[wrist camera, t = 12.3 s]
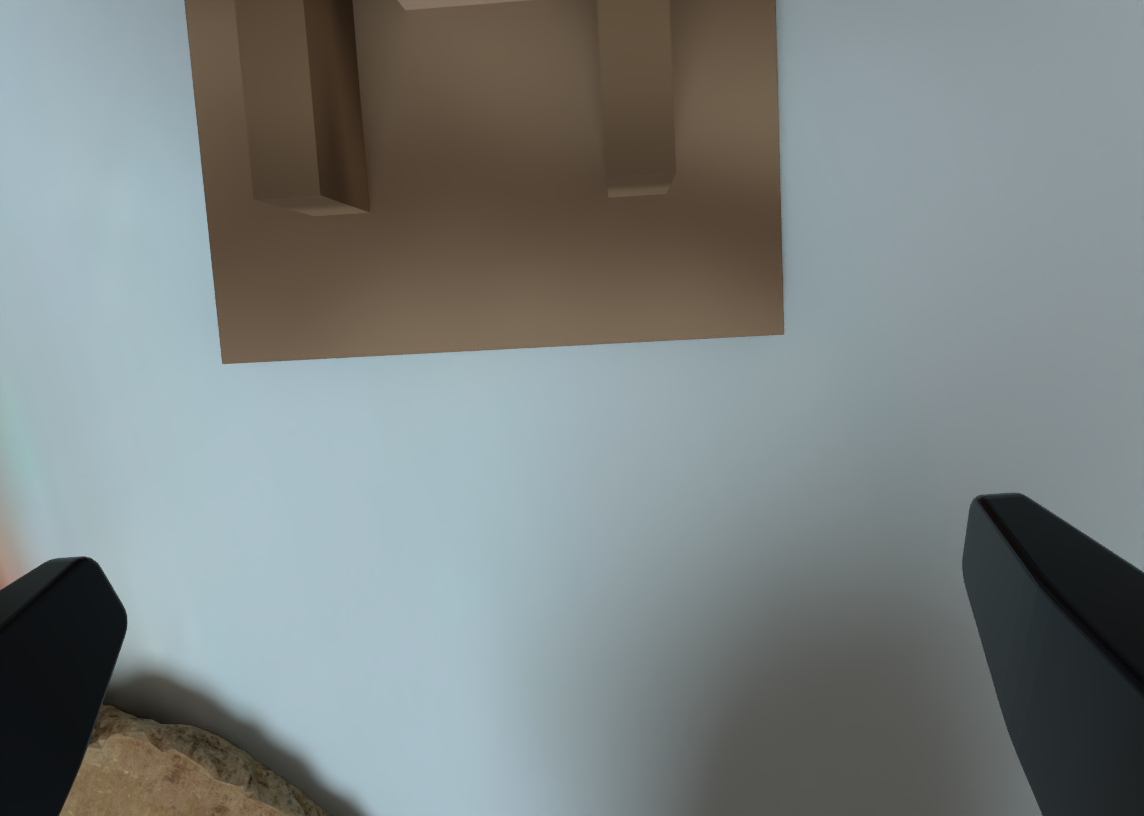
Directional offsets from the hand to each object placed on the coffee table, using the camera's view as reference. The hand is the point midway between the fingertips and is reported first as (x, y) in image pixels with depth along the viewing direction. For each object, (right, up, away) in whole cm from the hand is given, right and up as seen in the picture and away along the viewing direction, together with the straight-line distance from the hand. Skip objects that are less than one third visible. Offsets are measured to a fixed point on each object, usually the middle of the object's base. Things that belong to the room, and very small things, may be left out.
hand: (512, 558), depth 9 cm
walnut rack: (-1, +12, +9) cm, 15 cm away
